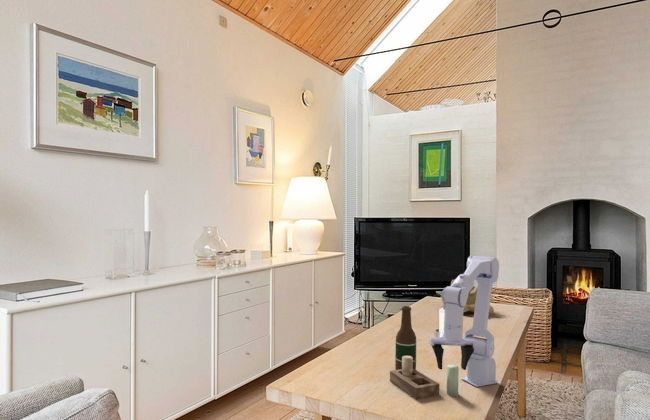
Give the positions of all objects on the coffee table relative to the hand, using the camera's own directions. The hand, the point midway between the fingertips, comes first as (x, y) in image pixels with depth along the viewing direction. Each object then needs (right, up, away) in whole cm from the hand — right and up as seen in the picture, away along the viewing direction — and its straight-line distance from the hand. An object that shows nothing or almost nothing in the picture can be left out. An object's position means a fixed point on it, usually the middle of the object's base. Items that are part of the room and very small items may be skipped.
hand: (451, 368), depth 141 cm
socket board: (-10, -10, +11) cm, 18 cm away
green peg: (+2, -11, +6) cm, 13 cm away
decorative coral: (+44, -10, +119) cm, 127 cm away
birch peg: (-11, -10, +15) cm, 21 cm away
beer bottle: (-10, -10, +26) cm, 30 cm away
